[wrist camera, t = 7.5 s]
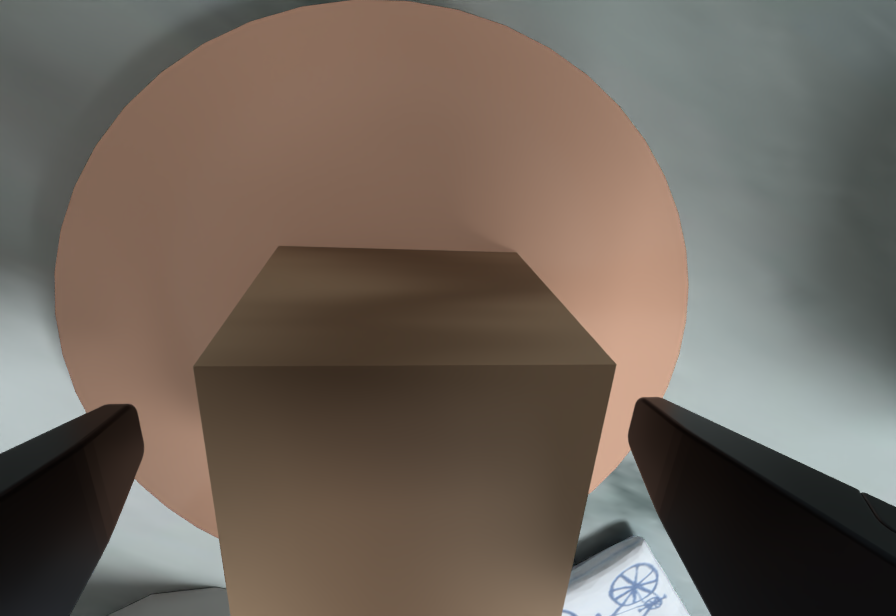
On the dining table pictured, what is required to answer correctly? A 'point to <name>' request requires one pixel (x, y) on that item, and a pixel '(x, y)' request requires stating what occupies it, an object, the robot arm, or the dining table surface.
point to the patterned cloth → (622, 584)
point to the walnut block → (400, 435)
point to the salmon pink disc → (356, 203)
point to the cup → (180, 604)
